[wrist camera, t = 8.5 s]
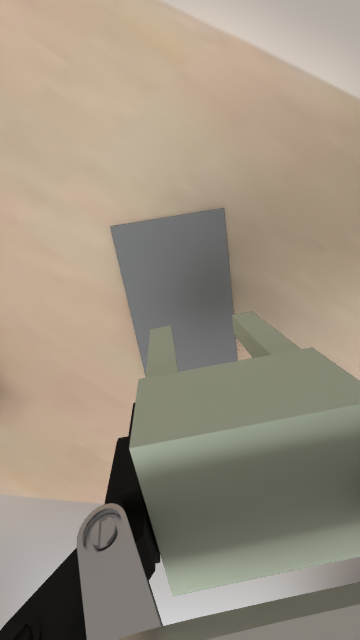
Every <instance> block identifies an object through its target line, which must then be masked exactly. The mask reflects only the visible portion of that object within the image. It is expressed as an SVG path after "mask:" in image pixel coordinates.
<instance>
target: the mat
mask: <svg viewBox="0 0 360 640" xmlns="http://www.w3.org/2000/svg"><path fill="white" fill-rule="evenodd" d="M110 228H111V232H112V237H113V241H114V245H115V249H116V254H117V258H118V262H119V266H120V270H121V275H122V279H123V283H124V287H125V291H126V296H127V300H128V304H129V308H130V313H131V317H132V321H133V325H134V329H135V334H136V338H137V342H138V346H139V350H140V355H141V359H142V363H143V367H144V372H145V376H146V370H147V359H148V347H149V336H150V329H155V328H161V327H166V326H171V330H172V336H173V341H174V347H175V354H176V360H177V367H178V372H180V371H186V370H191V369H196V368H202V367H207V366H213V365H218V364H224V363H229V362H235V361H238V359H237V348H236V337H235V335H234V332H233V321H232V315H234V314H233V303H232V292H231V281H230V269H229V258H228V247H227V235H226V224H225V213H224V208H221V209H215V210H209V211H202V212H196V213H190V214H184V215H178V216H172V217H166V218H160V219H154V220H148V221H141V222H135V223H129V224H123V225H117V226H111V227H110Z"/></svg>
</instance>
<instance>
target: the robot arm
mask: <svg viewBox="0 0 360 640" xmlns="http://www.w3.org/2000/svg"><path fill="white" fill-rule="evenodd" d="M134 410H135V403H134V404H133V409H132V416H131V423H130V429H129V436H128V437H122V438H119V439H118V441H117V445H116V450H115V455H114V459H113V464H112V469H111V474H110V479H109V484H108V489H107V494H106V499H105V504H104V505H102V506H100V507H98V508H96V509H95V510H94V511H92V512H91V513H90V514H89V515H88V516H87V518H86V519H85V520H84V522H83V524H82V525H81V527H80V530H79V533H78V536H77V548H76V549H75V550H74V551H73V552H72V553H71V554H70V555H69V556H68V558H67V559H66V560H65V561H64V562H63V563H62V564H61V565H60V566H59V567H58V569H56V570H55V571H54V573H53V574H52V575H51V576H50V577H49V578H48V579H47V580H46V581H45V582H44V583H43V584H42V585H41V587H40V588H39V589H38V590H37V591H36V592H35V593H34V594H33V595H32V596H31V597H30V598H29V599H28V601H27V602H26V603H25V604H24V605H23V606H22V607H21V608H20V609H19V610H18V611H17V612H16V613H15V615H14V616H13V617H12V618H11V619H10V620H9V621H8V622H7V623H6V624H5V625H4V627H3V628H2V629H1V630H0V640H360V582H358V583H353V584H348V585H344V586H339V587H335V588H330V589H326V590H321V591H316V592H312V593H307V594H302V595H298V596H293V597H289V598H284V599H279V600H275V601H271V602H266V603H262V604H257V605H253V606H248V607H244V608H239V609H235V610H230V611H226V612H221V613H217V614H212V615H208V616H203V617H199V618H195V619H191V620H186V621H182V622H178V623H174V624H170V625H166V626H163V624H162V622H161V618H160V615H159V612H158V609H157V605H156V602H155V599H154V596H153V593H152V590H151V587H150V584H149V579H150V578H151V576H152V574H153V573H154V572H155V563H160V551H159V548H158V544H157V541H156V538H155V534H154V531H153V528H152V524H151V521H150V517H149V514H148V511H147V507H146V504H145V500H144V497H143V494H142V490H141V487H140V484H139V480H138V477H137V473H136V470H135V467H134V463H133V460H132V456H131V453H130V450H129V446H130V439H131V431H132V424H133V417H134Z"/></svg>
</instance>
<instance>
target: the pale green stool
mask: <svg viewBox="0 0 360 640" xmlns="http://www.w3.org/2000/svg"><path fill="white" fill-rule="evenodd" d="M232 321H233V332H234V335H235V336H236V337H237V339H238V340H239V341H240V342H241V344H242V345H243V346H244V347H245V349H246V350H247V351H248V352H249V354H250V355H251V356H252V357H253V358H251V359H246V360H240V361H235V362H229V363H224V364H218V365H213V366H207V367H202V368H196V369H191V370H186V371H180V372H178V367H177V360H176V354H175V347H174V341H173V336H172V330H171V326H166V327H161V328H155V329H150V336H149V347H148V359H147V370H146V378H142V379H139V381H138V388H137V395H136V402H135V410H134V417H133V424H132V431H131V439H130V446H129V450H130V453H131V456H132V460H133V463H134V467H135V470H136V473H137V477H138V480H139V484H140V487H141V490H142V494H143V497H144V500H145V504H146V507H147V511H148V514H149V517H150V521H151V524H152V528H153V531H154V534H155V538H156V541H157V544H158V548H159V551H160V555H161V558H162V561H163V565H164V568H165V571H166V575H167V578H168V582H169V585H170V588H171V591H172V595H173V596H177V595H182V594H186V593H191V592H195V591H200V590H205V589H210V588H214V587H219V586H224V585H229V584H233V583H238V582H242V581H247V580H252V579H257V578H261V577H266V576H271V575H275V574H280V573H285V572H290V571H294V570H299V569H303V568H308V567H313V566H318V565H322V564H327V563H332V562H336V561H341V560H346V559H351V558H355V557H360V381H359V380H358V379H356V378H355V377H353V376H352V375H351V374H349V373H348V372H346V371H345V370H344V369H342V368H341V367H339V366H338V365H336V364H335V363H334V362H332V361H331V360H329V359H328V358H326V357H325V356H324V355H322V354H321V353H319V352H318V351H317V350H315V349H314V348H312V347H311V348H306V349H301V348H299V347H298V346H297V345H295V344H294V343H293V342H291V341H290V340H289V339H288V338H286V337H285V336H284V335H282V334H281V333H280V332H278V331H277V330H276V329H275V328H273V327H272V326H271V325H269V324H268V323H267V322H265V321H264V320H263V319H261V318H260V317H259V316H258V315H256V314H255V313H254V312H252V311H251V312H246V313H240V314H234V315H232Z"/></svg>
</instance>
